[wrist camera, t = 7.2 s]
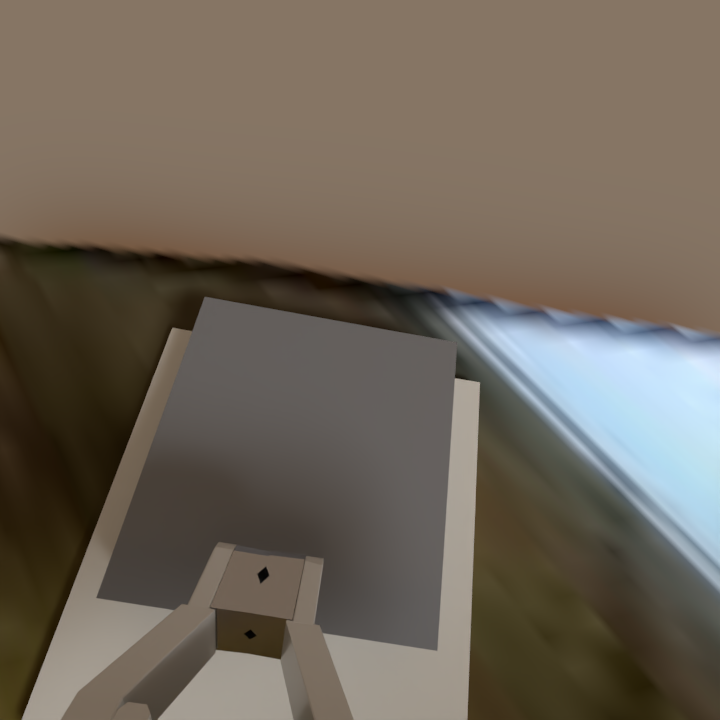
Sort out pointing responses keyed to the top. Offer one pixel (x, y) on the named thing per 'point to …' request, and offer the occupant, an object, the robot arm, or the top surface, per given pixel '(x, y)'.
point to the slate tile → (300, 468)
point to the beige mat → (258, 673)
